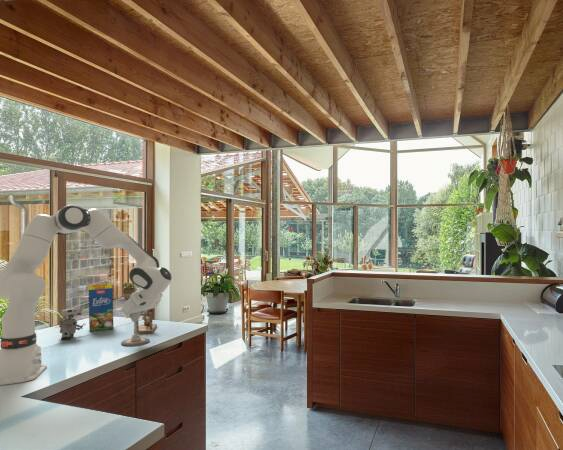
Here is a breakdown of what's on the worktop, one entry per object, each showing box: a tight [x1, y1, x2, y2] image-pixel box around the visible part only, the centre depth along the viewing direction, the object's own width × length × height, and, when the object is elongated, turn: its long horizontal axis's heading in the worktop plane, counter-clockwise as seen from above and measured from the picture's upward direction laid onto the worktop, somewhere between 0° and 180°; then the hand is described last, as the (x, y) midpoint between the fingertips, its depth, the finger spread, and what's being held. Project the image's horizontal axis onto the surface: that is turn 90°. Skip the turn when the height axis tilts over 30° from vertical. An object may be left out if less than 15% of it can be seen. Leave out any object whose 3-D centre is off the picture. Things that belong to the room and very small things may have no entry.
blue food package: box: [88, 282, 114, 332], centre depth 239 cm, size 6×12×25 cm, turn 117°
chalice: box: [129, 311, 142, 341], centre depth 208 cm, size 7×7×18 cm
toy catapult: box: [133, 312, 158, 335], centre depth 234 cm, size 16×9×10 cm, turn 7°
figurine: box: [58, 306, 87, 341], centre depth 222 cm, size 9×12×15 cm
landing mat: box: [120, 337, 151, 347], centre depth 208 cm, size 13×13×1 cm
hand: (133, 315), depth 209 cm, fingers open, 7 cm apart
